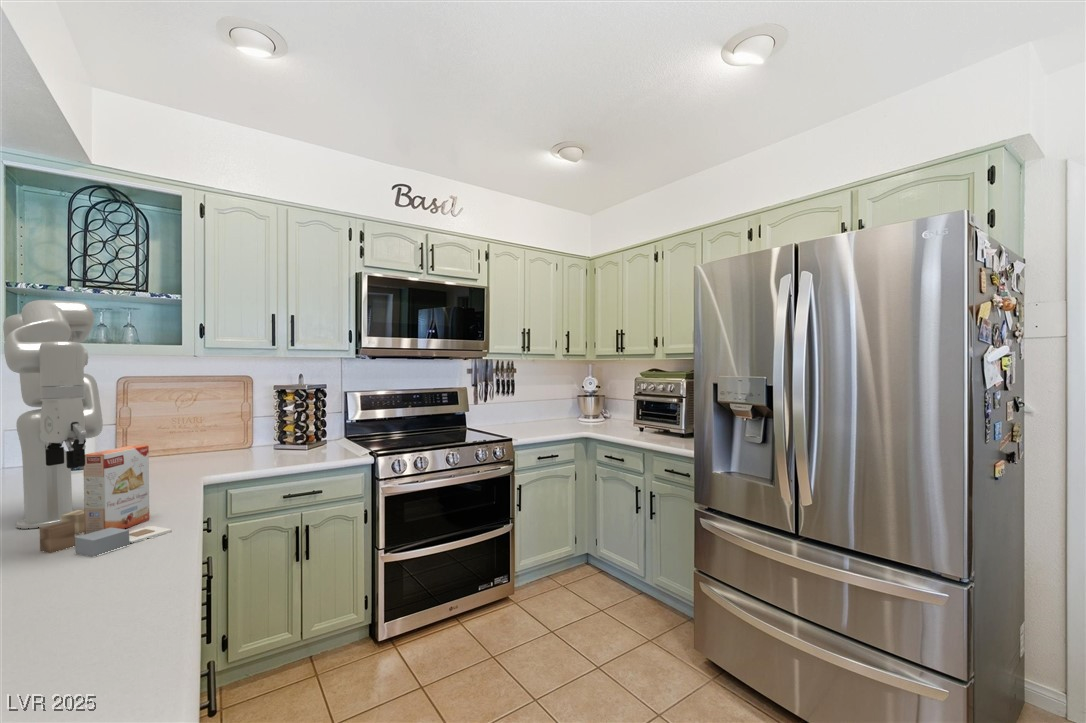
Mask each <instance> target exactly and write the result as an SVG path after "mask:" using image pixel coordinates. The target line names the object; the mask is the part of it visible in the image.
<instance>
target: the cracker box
mask: <svg viewBox="0 0 1086 723" xmlns="http://www.w3.org/2000/svg"><path fill="white" fill-rule="evenodd" d="M149 459H150V454H149V445H145V444H144V445H143V444H142V445H139V444H138V445H126V446H123V447H121V446H120V447H116V448H111V449H107V450H106V449H105V450H100V451H95V452H90V453H85V466H82V467H83V510H84V526H85V532H84V535H85V534H89V533H92V532H96V531H100V530H103V529H107V528H110V527H111V528H118V529H125V528H126V529H128V528H131V527H133V526H135V525H138V524H141V523H144V522H145V521H146V522H147V521H149V520H150V519H151V518H150V517H151V516H150V515H151V514H150V466H149V464H150V460H149ZM126 529H125V530H126Z"/></svg>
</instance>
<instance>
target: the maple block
mask: <svg viewBox="0 0 1086 723" xmlns="http://www.w3.org/2000/svg"><path fill="white" fill-rule="evenodd" d="M73 511H74V512H70V513H67V514H64V515H61V519H62V522H69V523H74V525H75V535H80V534H79V533H81V534H83V533H85V526H84V509H76V510H73ZM82 532H83V533H82Z"/></svg>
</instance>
